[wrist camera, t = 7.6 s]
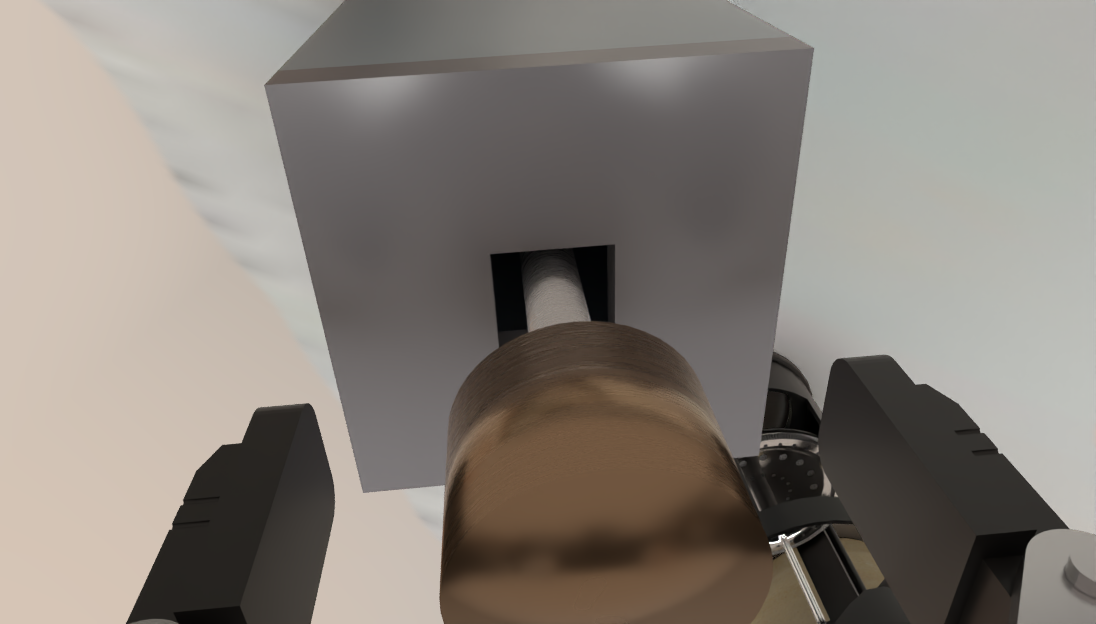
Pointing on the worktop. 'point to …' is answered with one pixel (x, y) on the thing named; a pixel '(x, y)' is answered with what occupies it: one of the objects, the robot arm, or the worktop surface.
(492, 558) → the plunger
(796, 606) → the planter bowl
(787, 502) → the french press
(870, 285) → the worktop surface
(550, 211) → the block
